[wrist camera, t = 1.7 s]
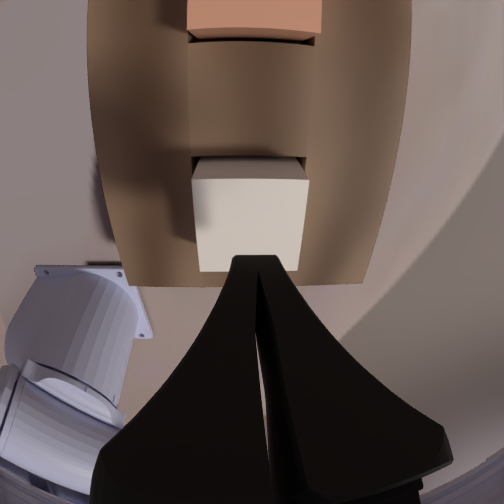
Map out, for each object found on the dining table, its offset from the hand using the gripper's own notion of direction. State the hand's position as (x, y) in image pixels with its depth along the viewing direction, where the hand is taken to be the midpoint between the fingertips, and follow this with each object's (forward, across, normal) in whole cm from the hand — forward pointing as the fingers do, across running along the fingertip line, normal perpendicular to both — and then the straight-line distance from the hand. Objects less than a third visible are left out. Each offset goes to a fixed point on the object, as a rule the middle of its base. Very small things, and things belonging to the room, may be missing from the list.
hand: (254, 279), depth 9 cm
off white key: (+6, 0, 0) cm, 6 cm away
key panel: (+8, 0, -5) cm, 10 cm away
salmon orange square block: (+6, 0, -10) cm, 12 cm away
